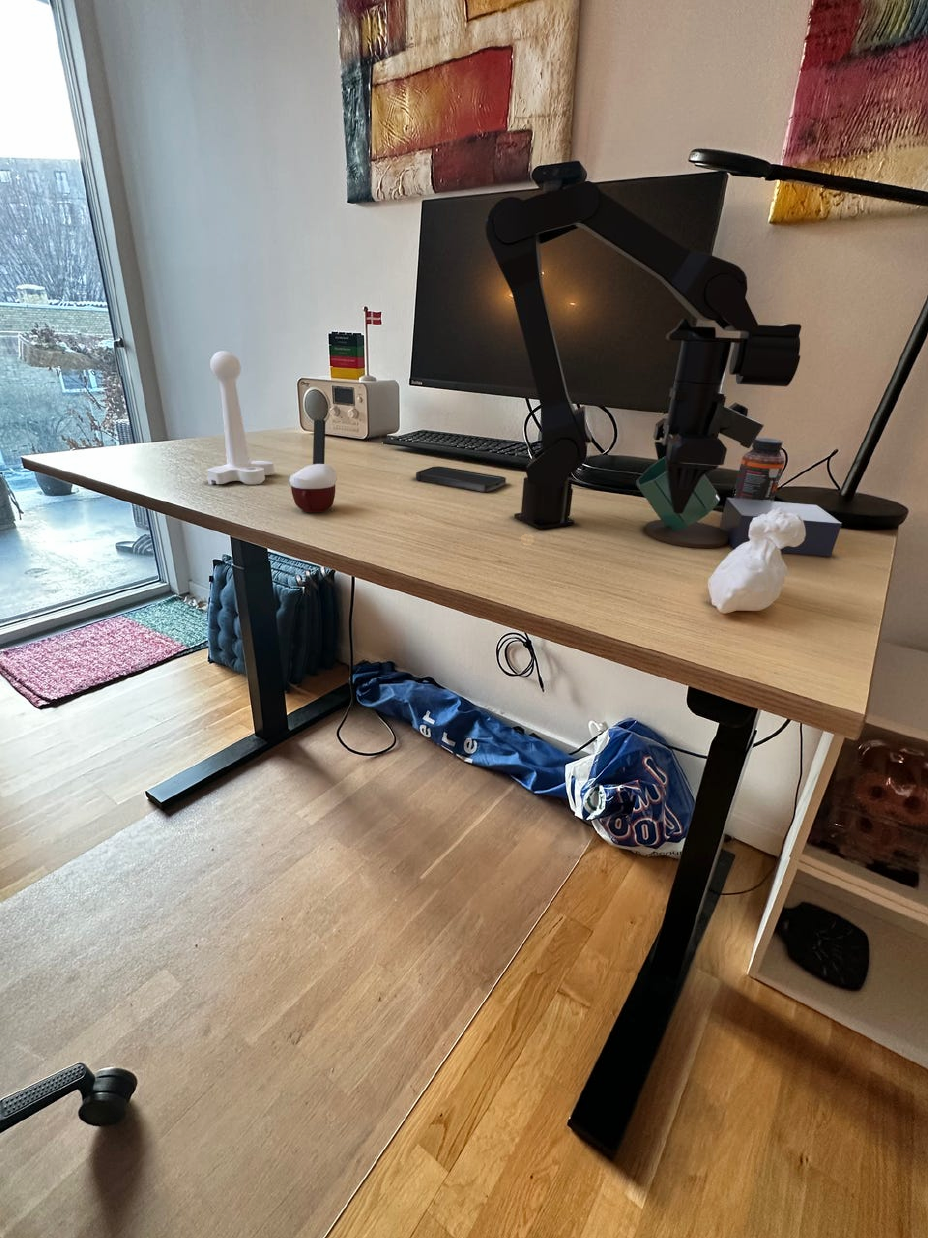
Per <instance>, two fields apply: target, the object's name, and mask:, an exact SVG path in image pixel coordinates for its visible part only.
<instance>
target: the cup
mask: <svg viewBox="0 0 928 1238" xmlns="http://www.w3.org/2000/svg"><path fill="white" fill-rule="evenodd" d="M666 456H667V455H666ZM666 456H664V457H663V458H661V459H660V460H659V461H658V460H657V461H656V462H655V463H653V464H651V465H650V466H649V467H648V468H646V469H645V471H643V473H642V474H641V475H640V476H639V477H638V478H637V479H636V480H635V484H636V487H637V488H638V490H639V491H640V492H641V494H642V496H643V497H645V499H646V501H647V502H648V504H649V505H650V507H651V508H652V509H653V511H654V513H656V515H657V516H658V517H659V520H662V522H663V523H664V524H665V526H667V527H668V529H669V530H671V531H677V530H681V529H683V528H686V527H688V526H690V525H692V524H694V523H696V522H699V521H700V520H702V519H704V517H706V516H707V515H709V514H710V513H711V512H712V511H713V510H714V509H715V508H716V507H717V505H718V504H719V502H720V501H721V497H720V495H719V493H718V491H717V489H715V487H714V486H713V484H712V483H711V481H710V480H709V478H708V477H707V475H706V474H705V475H703V476H702V477H701V478H700V480H699V482H698V484H697V486H696V487H695V489H694V491H693V493H692V495H691V497H690V499H689V501H688V503H687V505H686V507H685V509H684V511H683V513H674V511H673V506H672V500H671V494H670V488H669V481H668V475H667V470H666V463H665V458H667V457H666Z"/></svg>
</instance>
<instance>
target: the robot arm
mask: <svg viewBox="0 0 928 1238" xmlns="http://www.w3.org/2000/svg"><path fill="white" fill-rule="evenodd" d="M484 227H485V228H484V229H485V236H486V239H487V243H488V244H489V246H490V249H491V251H492V254H493V256H494V258H495V260H496V263H497V265H498V268H499V269H500V271H501V273H502V275H503V278H504V279H505V281H506V283H507V285H508V288H509V290H510V293H511V295H512V298H513V302H514V306H515V310H516V314H517V319H518V323H519V326H520V329H521V334H522V339H523V342H524V346H525V350H526V354H527V358H528V361H529V365H530V369H531V373H532V377H533V381H534V385H535V389H536V393H537V398H538V401H539V405H540V426H541V427H540V429H541V430H540V431H541V443H542V448H540V449H539V450H538V451H537V452H536V453H535V454H533V455H532V456H531V458H530V460H529V462H528V463H527V465H526V468H525V473H526V476H525V477H523V483H522V495H521V505H520V512H517V513H514V516H513V518H515V519H517V520H519V521H521V522H523V523H525V524H527V525H530V526H531V527H534V528H536V529H539V530H544V529H548V528H556V527H563V526H569V525H570V526H571V525H574V524H575V521H576V520H575V519H572V518H571V517H570V516H571V510H572V502H573V493H574V489H573V487H572V486H573V478H571V477H569V476H570V474H571V473H573V472H575V471H577V470H578V469H579V468H581V467H582V465H583V464H584V463H585V461H586V459H587V456H588V448H589V444H591V443H592V432H591V431H590V429H589V427H588V424H587V420H586V419H587V418H586V406H585V405H582V406H581V407H579V408H575V407H574V404H573V402H572V400H571V398H570V396H569V392H568V388H567V384H566V380H565V375H564V372H563V368H562V363H561V359H560V354H559V350H558V345H557V342H556V337H555V333H554V327H553V325H552V321H551V317H550V311H549V307H548V303H547V298H546V294H545V291H544V286H543V269H542V265H543V263H542V248H541V245H543V244H546V243H549V242H552V241H554V240H556V239H558V238H560V237H563V236H565V235H567V234H570V233H571V232H574V231H577V230H580V229H582V230H585V231H587V232H588V233H589V234H590V235H592V236H594V237H595V238H596V239H598V240H600V241H601V242H603V243H604V244H606V245H607V246H609V247H610V248H611V249H613V250H614V251H616V252H618V253H619V254H621V255H622V256H623V257H625V258H627V259H628V260H629V261H631V262H633V263H634V264H635V265H637V266H639V267H640V268H642V270H645V271H646V272H647V273H649V274H650V275H652V276H654V277H655V278H657V279H658V280H659V281H660V282H661V283H662V284H663V285H664V286H665V287H666V288H667V289H668V290H669V291H670V293H671V294H672V295H673V296H674V297H675V299H676V300H677V301H678V302H679V303H680V304H681V305H682V306H683V307H684V308H685V309H686V310H687V311H688V312H689V313H690V314H691V316H693V317H694V318H695V319H698V320H700V321H702V322H714V323H715V324H717V325H718V326H719V327H720V328H721V329H722V330H723V331H724V332H725V331H726V332H740V334H739V337H720V336H719V337H717V332H716V329H717V328H716V327H715V326H701V325H700V326H699V325H698V326H697V325H691V324H690V323H689V321H688V319H687V318H682V319H681V320H680V321H679V323H678V324H677V325H676V327H674V328H673V329H671V331H668V332H667V333H666V335H665V338H666V340H668V341H681V344H680V348H679V349H680V350H679V355H678V360H677V365H676V371H675V377H674V382H673V387H670V388H669V395H668V396H669V397H670V402H669V409H668V414H667V418H666V417H663V418H662V419H660V420H659V421H658V422H656V423H655V426H654V431H653V437H652V438H653V440H654V448H655V452H656V457H657V461H659V460H660V459H661V458H663V457H664V456H666V455H667V456H666V457H667V458H665V463H666V470H667V475H668V481H669V488H670V494H671V500H672V506H673V511H674V513H683V511H684V509H685V507H686V505H687V503H688V501H689V499H690V497H691V495H692V493H693V491H694V489H695V487H696V486H697V484H698V482H699V480H700V478H701V477H702V476H703V475H706V474H708V473H709V472H711V471H714V470H717V469H718V468H719V466H724V464H725V460H726V454H727V452H728V448H727V446H725V444H724V442H723V441H722V440H721V439H720V438H719V435H723V436H725V437H727V438H728V439H731V440H733V441H735V442H737V443H739V444H740V446H742V447H744V448H745V449H750V448H752V445H753V442H754V440H755V439H756V438H758V436H759V434H760V433H761V431H762V430H763V428H764V426H765V425H764V424H763V423H761V422H759V421H757V420H755V419H752V418H751V417H748V414H749V408H748V407H747V406H744V405H742V404H740V403H738V402H734V403H733V404H731V405H730V406H725V405H726V399H727V397H726V395H725V393H723V392H722V388H723V383H724V380H725V375H726V370H727V365H728V361H729V365H728V373H729V375H731V376H735V382H736V384H737V385H752V386H770V387H771V386H772V387H788V386H789V385H790V384H791V383H792V381H793V379H794V377H795V375H796V373H797V370H798V368H799V364H800V360H801V355H800V351H801V337H800V335H801V331H802V325H801V324H800V323H795V324H794V323H787V324H786V323H785V324H784V323H783V324H779V325H775V324H759V323H758V322H757V319H756V317H755V315H754V313H753V311H752V309H751V306H750V305H749V302H748V300H747V292H748V277H747V275H746V273H745V271H744V270H743V269H742V268H741V267H740V266H738V265H737V264H735V263H733V262H730V261H727V260H724V259H722V258H719V257H717V256H714V255H712V254H710V253H706V252H702V251H699V250H695V249H692V248H690V247H687V246H684V245H682V244H681V243H680V242H678V241H676V240H675V239H673V238H672V237H671V236H669V235H668V234H666V233H664V232H663V231H662V230H660V229H659V228H657V227H656V226H654V225H653V224H652V223H650V222H648V221H647V220H645V219H644V218H642V217H641V216H640V215H638V214H636V213H635V212H633V211H632V210H631V209H629V208H627V207H626V206H625V205H623V204H621V202H618V201H617V200H616V199H614V198H613V197H611V196H610V195H609V194H606V193H605V192H604V191H602V189H601V188H600V187H599V186H598V184H597V183H595V182H593V181H590V180H581V181H579V182H577V183H575V184H574V185H571V186H567V187H566V188H561V189H557V190H552V191H548V192H544V193H540V194H537V195H534V196H532V197H531V196H530V197H529V198H526V199H521V198H519V197H515V196H509V197H504V198H501V199H500V200H498V201H496V202H495V204H494V205H493V207H492V208H491V209H490V210H489V213H488V215H487V218H486V220H485V226H484ZM732 344H733V348H732ZM731 348H732V351H731ZM730 352H731V354H730ZM730 355H731V356H730ZM729 358H730V360H729Z"/></svg>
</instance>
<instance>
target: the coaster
mask: <svg viewBox="0 0 928 1238" xmlns="http://www.w3.org/2000/svg"><path fill="white" fill-rule="evenodd" d="M645 532H646V534H647V535H648V536H649V537H651V538H653V539H655V540H658V541H659V542H663V543H666V544H668V545H669V544H670V545H674V546H679V547H685V548H691V549H693V548H694V549H713V548H720V547H723V546H726V545H727V544H728V543H729V541H728V540H729V536H728V534H727V533H726V532H725V531H723V530H721V529H720V528H718V527H717V526H714V525H711V524H708V523H704V522H701V521H700V522H699V521H697V522H696V523H694V524H692V525H690V526H688V527H686V528H683V529H681V530H677V531H671V530H669V529H668V527H667V526H665V524H664V523H663V522H662V520H661V519H656V520H652V521H649V522H648V523H646V525H645Z"/></svg>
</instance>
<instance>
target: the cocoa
mask: <svg viewBox="0 0 928 1238" xmlns="http://www.w3.org/2000/svg"><path fill="white" fill-rule="evenodd" d="M312 448H313V449H312V464H309V465H306V466H305V467H303V468H301V469H300V470H298V471H297V472H294V473H292V474H291V475H290V477H289V478H288V479H289V480H288V482H289V484H290V490H291V491H290V492H291V495H292V499H293V502H294V504H295V506H296V507H297V508H298V509H299V510H301V511H303V512H305V513H322V512H326V511H328V510H329V509H331V508H332V507H333V505H334V502H335V497H336V482H337V481H338V478H337V471H336V470H335V469H334V468H333V467H332V466H331V465H329V464H325V453H326V452H325V451H326V420H325V419H319V418H318V419H317V418H315V419H314V421H313V444H312Z"/></svg>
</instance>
